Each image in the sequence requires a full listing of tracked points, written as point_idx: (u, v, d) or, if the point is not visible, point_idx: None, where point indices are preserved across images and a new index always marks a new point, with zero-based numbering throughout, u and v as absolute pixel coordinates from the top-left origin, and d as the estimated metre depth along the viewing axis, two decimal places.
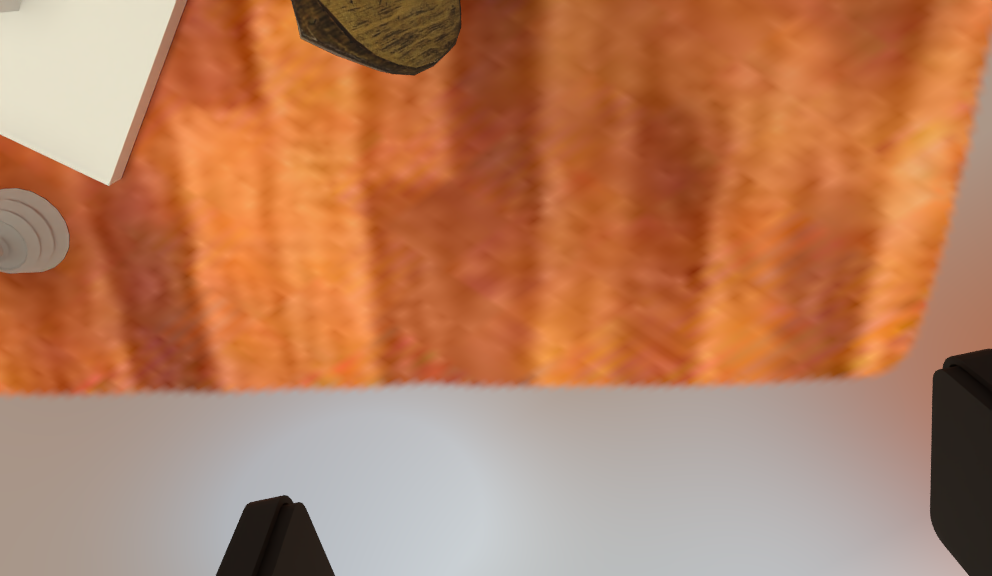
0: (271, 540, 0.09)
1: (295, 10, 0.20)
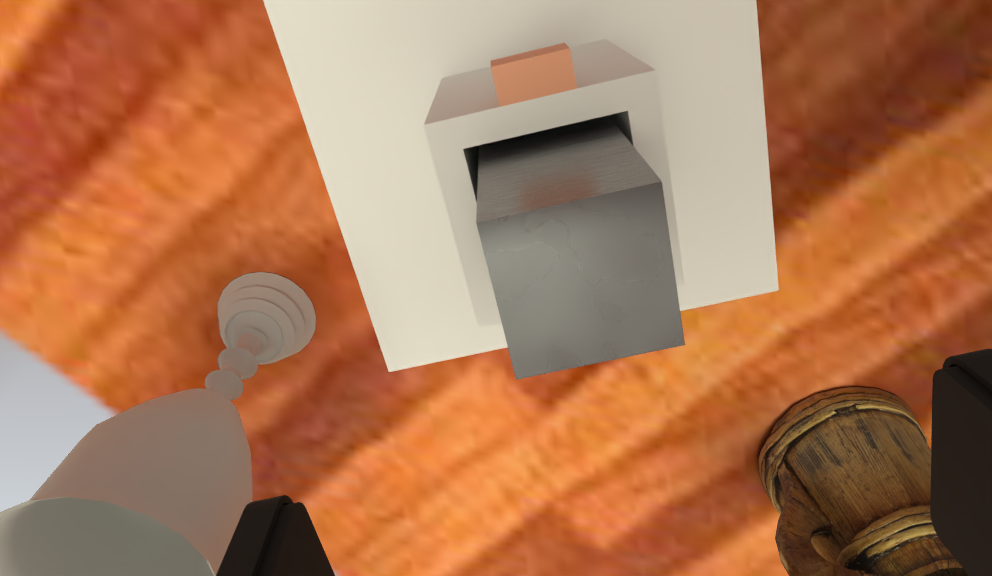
0: (271, 540, 0.09)
1: None
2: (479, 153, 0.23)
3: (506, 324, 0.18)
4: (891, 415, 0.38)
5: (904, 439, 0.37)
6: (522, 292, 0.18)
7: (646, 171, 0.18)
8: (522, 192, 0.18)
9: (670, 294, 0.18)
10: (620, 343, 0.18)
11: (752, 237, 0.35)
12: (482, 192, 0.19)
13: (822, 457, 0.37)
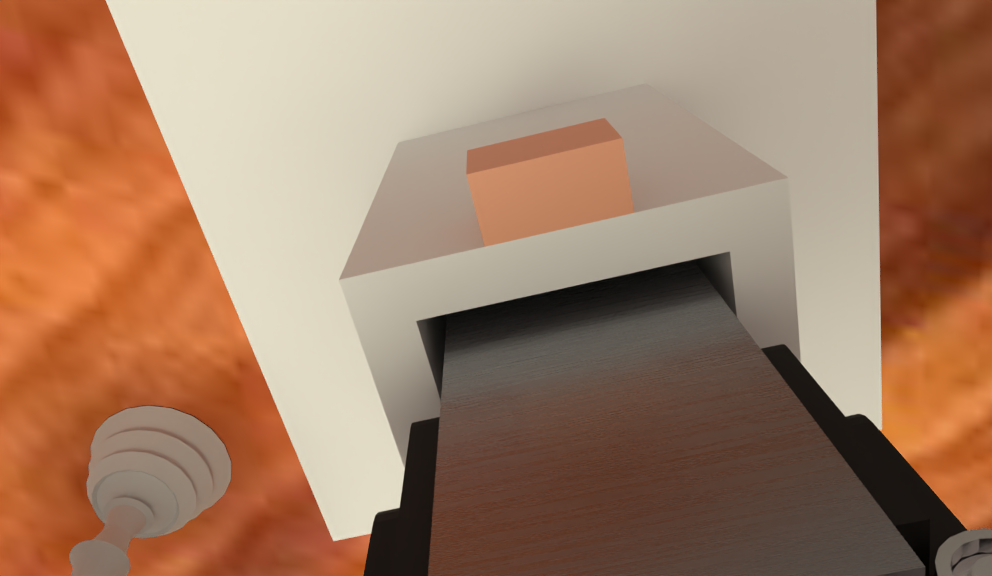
0: None
1: None
2: (448, 319, 0.13)
3: None
4: None
5: None
6: None
7: (850, 492, 0.07)
8: (538, 514, 0.08)
9: None
10: None
11: (849, 360, 0.24)
12: (446, 483, 0.09)
13: None
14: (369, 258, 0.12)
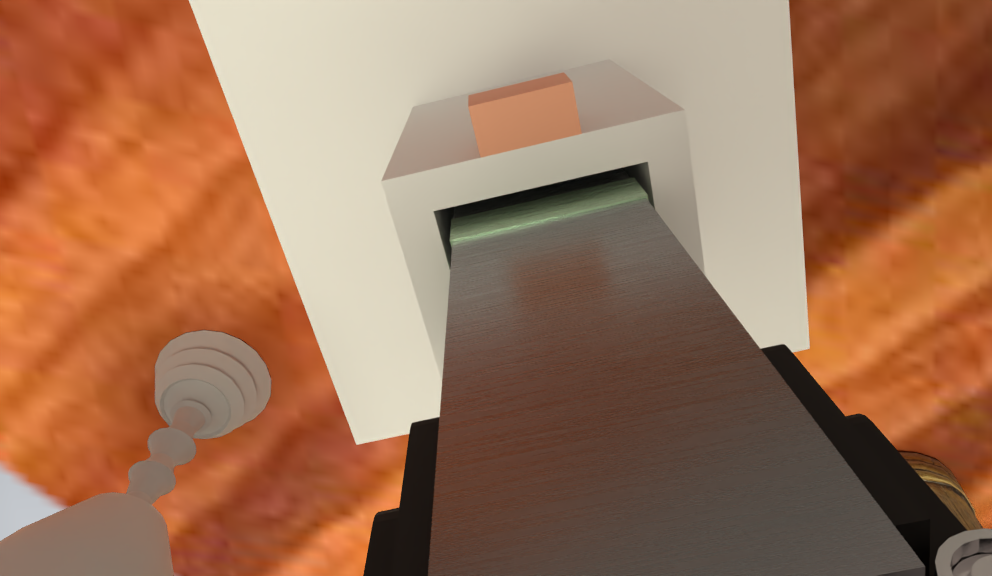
0: None
1: None
2: (447, 319, 0.13)
3: None
4: (936, 486, 0.33)
5: None
6: None
7: (850, 492, 0.07)
8: (538, 514, 0.08)
9: None
10: None
11: (780, 289, 0.29)
12: (446, 484, 0.09)
13: None
14: (400, 169, 0.18)
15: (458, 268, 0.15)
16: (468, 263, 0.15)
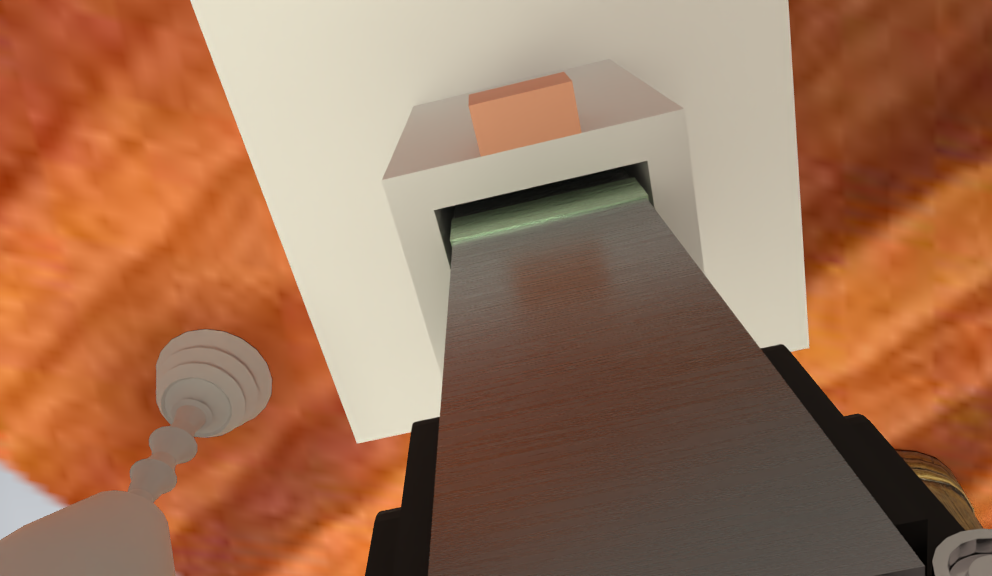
0: None
1: None
2: (448, 319, 0.13)
3: None
4: (935, 485, 0.33)
5: (953, 516, 0.32)
6: None
7: (850, 491, 0.07)
8: (538, 513, 0.08)
9: None
10: None
11: (780, 288, 0.30)
12: (446, 483, 0.09)
13: None
14: (401, 168, 0.18)
15: (458, 268, 0.15)
16: (468, 263, 0.15)
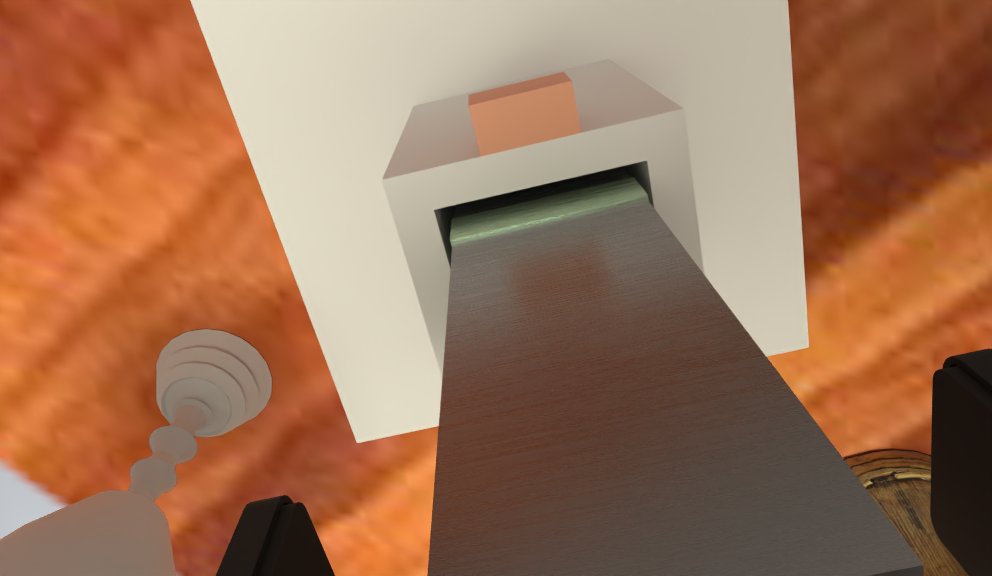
0: (271, 540, 0.09)
1: None
2: (448, 319, 0.13)
3: None
4: None
5: None
6: None
7: (849, 491, 0.07)
8: (537, 512, 0.08)
9: None
10: None
11: (779, 288, 0.30)
12: (445, 482, 0.09)
13: None
14: (401, 168, 0.18)
15: (458, 268, 0.15)
16: (468, 263, 0.15)
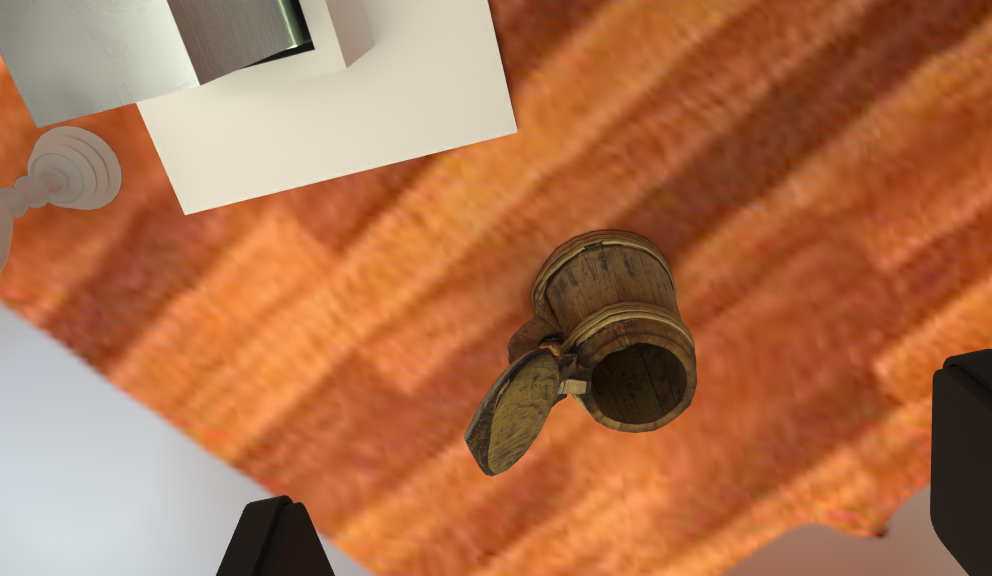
0: (271, 540, 0.09)
1: (476, 428, 0.30)
2: None
3: (8, 62, 0.18)
4: (632, 249, 0.44)
5: (635, 264, 0.42)
6: (15, 24, 0.17)
7: None
8: None
9: (168, 26, 0.18)
10: (133, 84, 0.18)
11: (486, 82, 0.40)
12: None
13: (567, 283, 0.42)
14: None
15: None
16: None
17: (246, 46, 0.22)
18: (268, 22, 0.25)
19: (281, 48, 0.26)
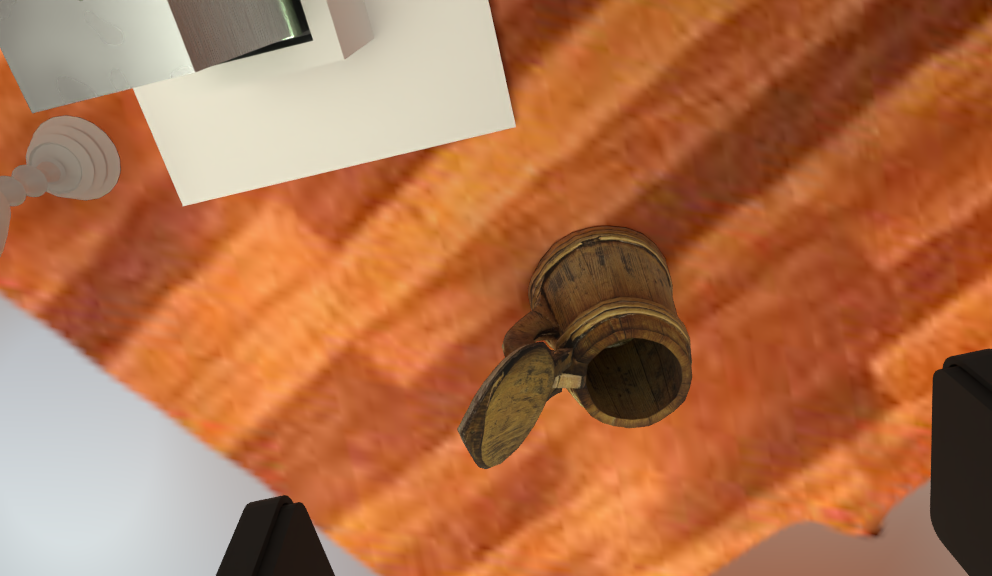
0: (271, 540, 0.09)
1: (470, 420, 0.30)
2: None
3: (4, 47, 0.18)
4: (630, 245, 0.44)
5: (632, 260, 0.42)
6: (10, 9, 0.17)
7: None
8: None
9: (164, 12, 0.18)
10: (127, 70, 0.18)
11: (485, 76, 0.40)
12: None
13: (563, 278, 0.43)
14: None
15: None
16: None
17: (243, 34, 0.22)
18: (265, 12, 0.25)
19: (278, 38, 0.26)
